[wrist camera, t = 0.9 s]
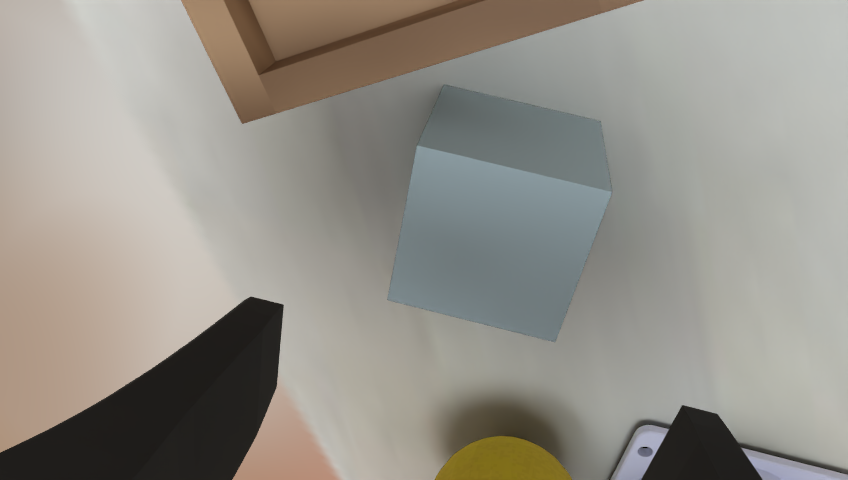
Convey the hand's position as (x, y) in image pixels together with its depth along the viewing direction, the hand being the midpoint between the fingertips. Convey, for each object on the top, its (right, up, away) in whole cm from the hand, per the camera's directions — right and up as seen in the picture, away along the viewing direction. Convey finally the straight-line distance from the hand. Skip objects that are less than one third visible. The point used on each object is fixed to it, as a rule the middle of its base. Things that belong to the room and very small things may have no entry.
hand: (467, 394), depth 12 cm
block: (+2, +5, +8) cm, 10 cm away
